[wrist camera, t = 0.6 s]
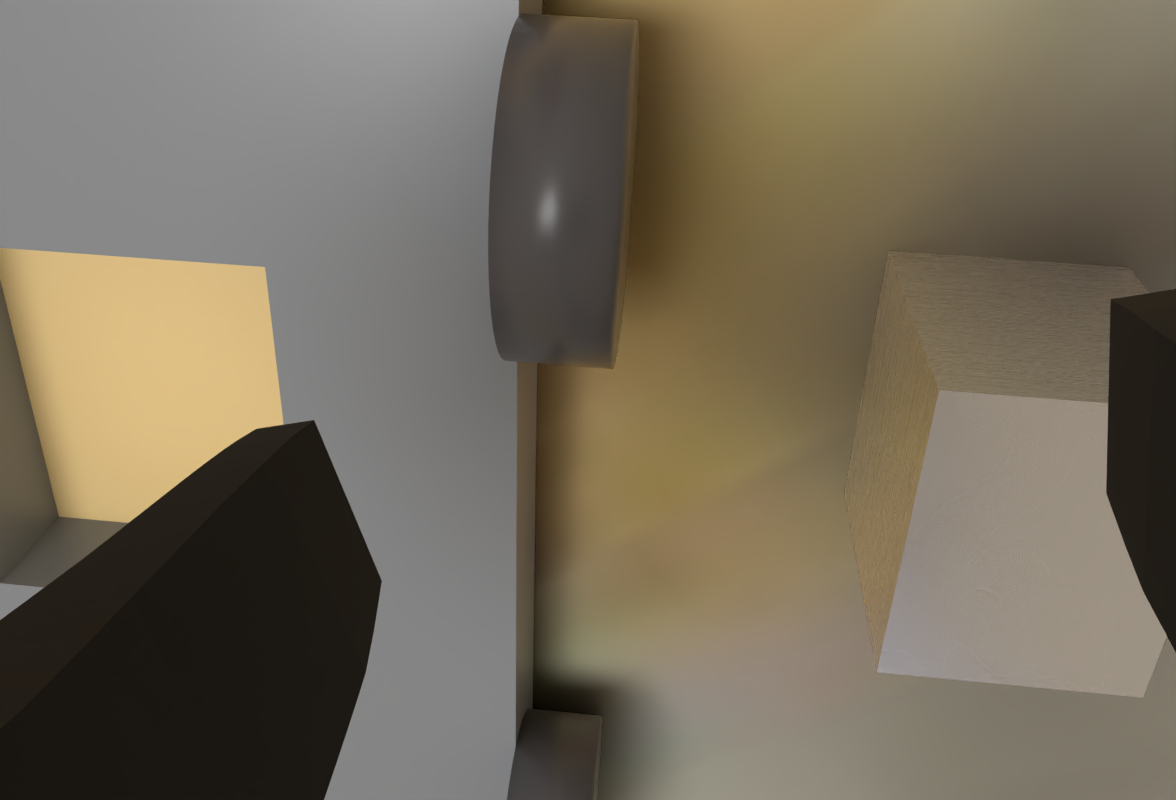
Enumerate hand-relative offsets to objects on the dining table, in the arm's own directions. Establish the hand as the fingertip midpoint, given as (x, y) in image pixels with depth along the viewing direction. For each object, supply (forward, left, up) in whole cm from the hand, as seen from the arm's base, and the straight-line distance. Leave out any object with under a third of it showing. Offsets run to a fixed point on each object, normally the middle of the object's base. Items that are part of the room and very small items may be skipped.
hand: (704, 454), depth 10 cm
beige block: (-4, -5, -10) cm, 12 cm away
